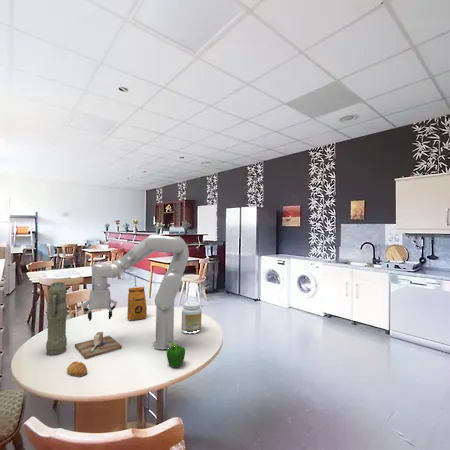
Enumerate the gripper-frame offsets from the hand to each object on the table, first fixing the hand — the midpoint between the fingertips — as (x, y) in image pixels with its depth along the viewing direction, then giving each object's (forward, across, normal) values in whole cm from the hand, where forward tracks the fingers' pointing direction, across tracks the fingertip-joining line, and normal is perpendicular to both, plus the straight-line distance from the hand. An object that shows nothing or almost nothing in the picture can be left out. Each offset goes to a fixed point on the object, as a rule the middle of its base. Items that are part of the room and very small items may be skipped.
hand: (100, 319), depth 148 cm
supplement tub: (+17, -50, -15) cm, 55 cm away
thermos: (+15, +21, +1) cm, 25 cm away
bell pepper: (+17, -38, +26) cm, 49 cm away
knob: (+13, +2, +3) cm, 14 cm away
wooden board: (+15, +1, 0) cm, 15 cm away
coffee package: (+16, -15, -44) cm, 49 cm away
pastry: (+16, +5, +24) cm, 29 cm away
